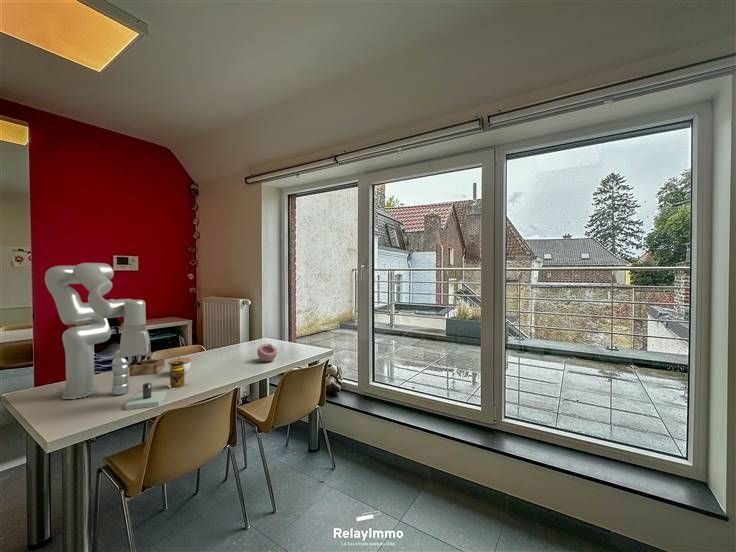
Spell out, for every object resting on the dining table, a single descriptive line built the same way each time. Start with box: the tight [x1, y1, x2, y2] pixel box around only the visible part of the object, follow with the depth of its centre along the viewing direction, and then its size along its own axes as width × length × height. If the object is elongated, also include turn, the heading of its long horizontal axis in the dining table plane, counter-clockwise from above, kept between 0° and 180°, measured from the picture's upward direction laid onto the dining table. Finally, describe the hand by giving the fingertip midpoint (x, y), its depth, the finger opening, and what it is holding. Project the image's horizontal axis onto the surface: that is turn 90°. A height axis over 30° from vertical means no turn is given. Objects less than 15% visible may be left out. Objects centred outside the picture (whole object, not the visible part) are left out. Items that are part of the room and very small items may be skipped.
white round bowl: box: [168, 356, 192, 376], centre depth 174 cm, size 11×11×9 cm
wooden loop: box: [128, 358, 166, 377], centre depth 137 cm, size 10×10×4 cm
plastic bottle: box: [111, 349, 130, 396], centre depth 146 cm, size 6×7×20 cm
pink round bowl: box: [257, 343, 278, 363], centre depth 199 cm, size 12×12×12 cm
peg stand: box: [124, 382, 168, 410], centre depth 137 cm, size 12×12×8 cm
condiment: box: [166, 361, 189, 391], centre depth 157 cm, size 7×8×12 cm
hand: (136, 371), depth 136 cm, fingers closed on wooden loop, 1 cm apart
